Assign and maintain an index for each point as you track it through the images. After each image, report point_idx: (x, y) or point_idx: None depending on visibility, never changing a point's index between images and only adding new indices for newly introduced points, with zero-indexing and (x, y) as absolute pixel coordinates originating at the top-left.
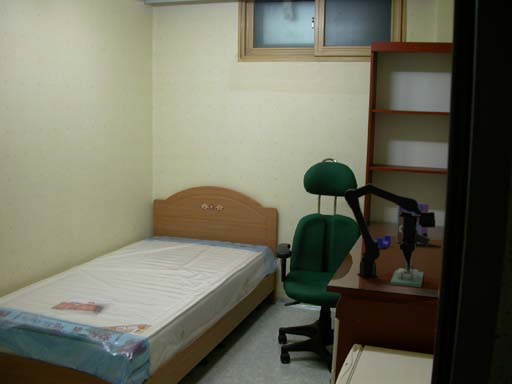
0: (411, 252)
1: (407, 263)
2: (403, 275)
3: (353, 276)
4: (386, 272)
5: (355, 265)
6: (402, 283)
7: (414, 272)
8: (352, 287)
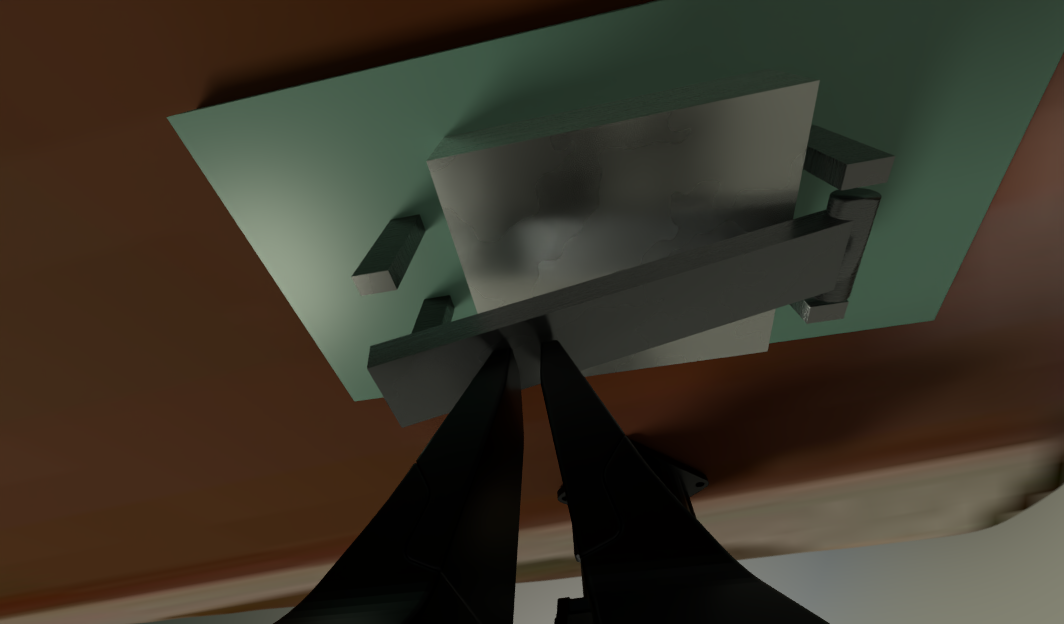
0: (727, 556)
1: None
2: None
3: None
4: (423, 428)
5: None
6: (980, 198)
7: (682, 160)
8: (1036, 464)
